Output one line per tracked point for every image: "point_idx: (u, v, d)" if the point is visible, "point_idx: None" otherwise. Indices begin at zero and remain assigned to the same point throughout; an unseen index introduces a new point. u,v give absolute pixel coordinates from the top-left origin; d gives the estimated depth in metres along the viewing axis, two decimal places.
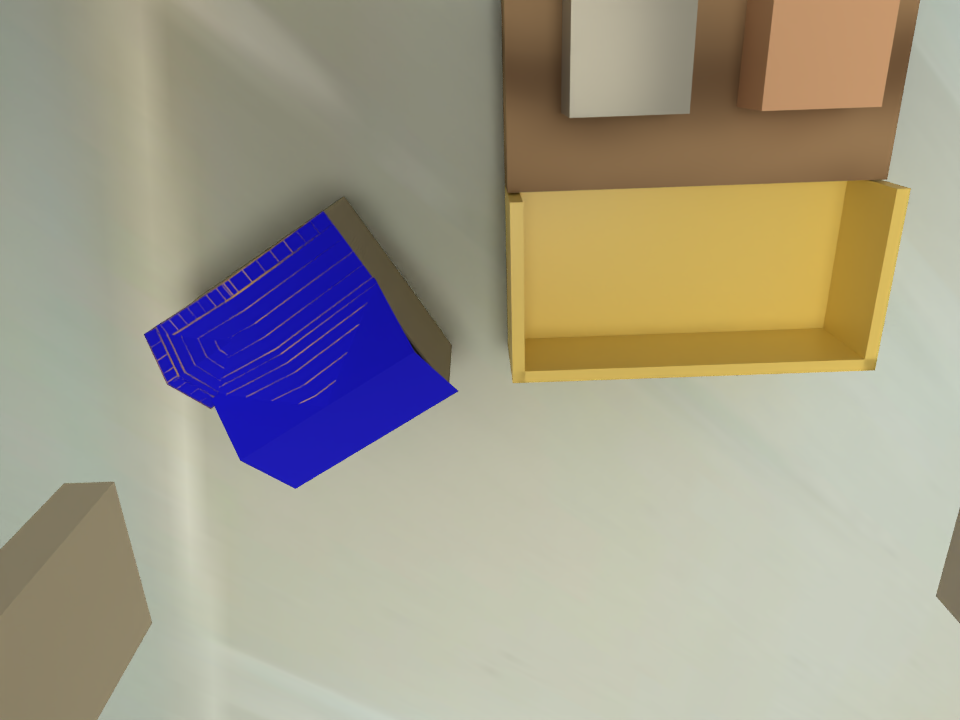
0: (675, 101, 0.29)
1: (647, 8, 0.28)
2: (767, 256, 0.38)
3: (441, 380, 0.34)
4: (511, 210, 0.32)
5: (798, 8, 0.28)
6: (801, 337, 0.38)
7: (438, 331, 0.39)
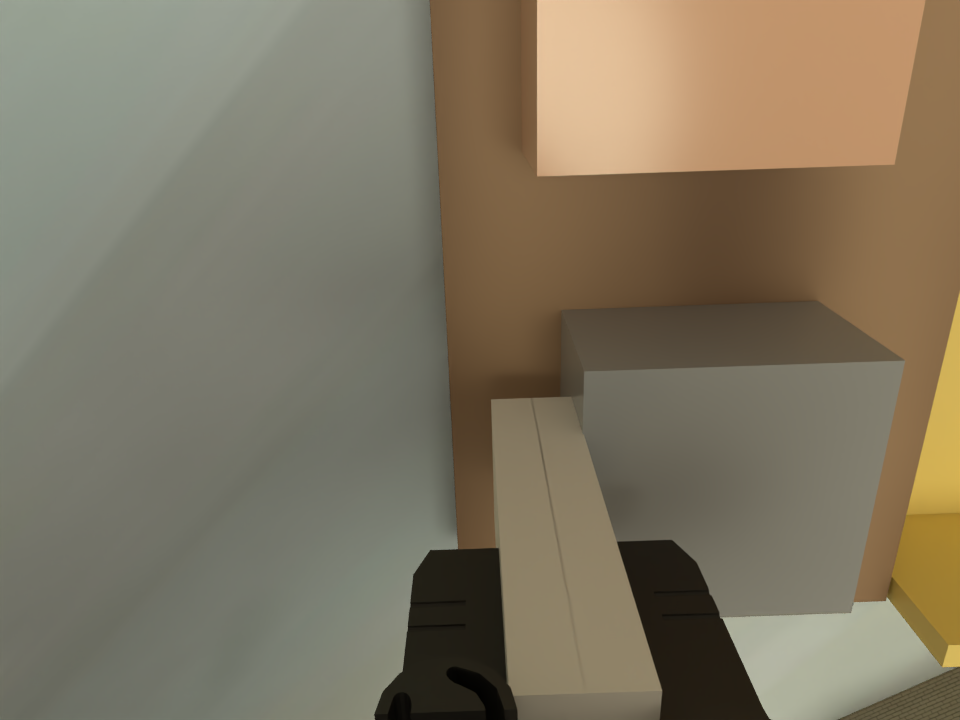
0: (866, 397, 0.11)
1: (640, 479, 0.12)
2: None
3: None
4: (959, 664, 0.15)
5: (626, 97, 0.10)
6: None
7: None
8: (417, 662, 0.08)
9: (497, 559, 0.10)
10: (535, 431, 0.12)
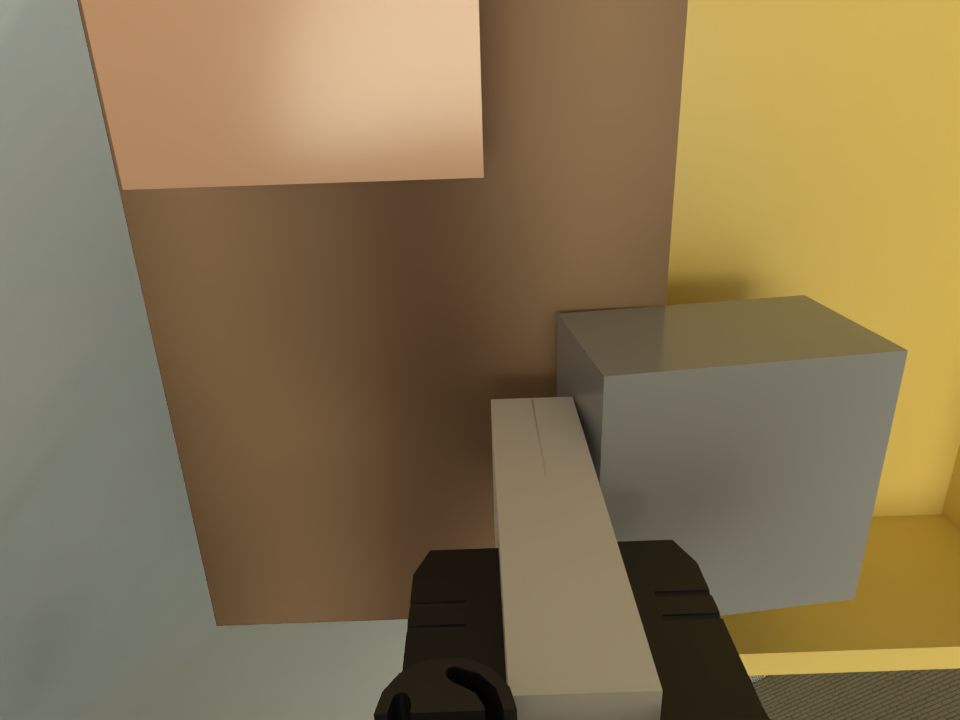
0: (871, 388, 0.12)
1: (658, 482, 0.12)
2: None
3: None
4: None
5: (195, 110, 0.09)
6: None
7: None
8: (417, 662, 0.08)
9: (497, 559, 0.10)
10: (535, 431, 0.12)
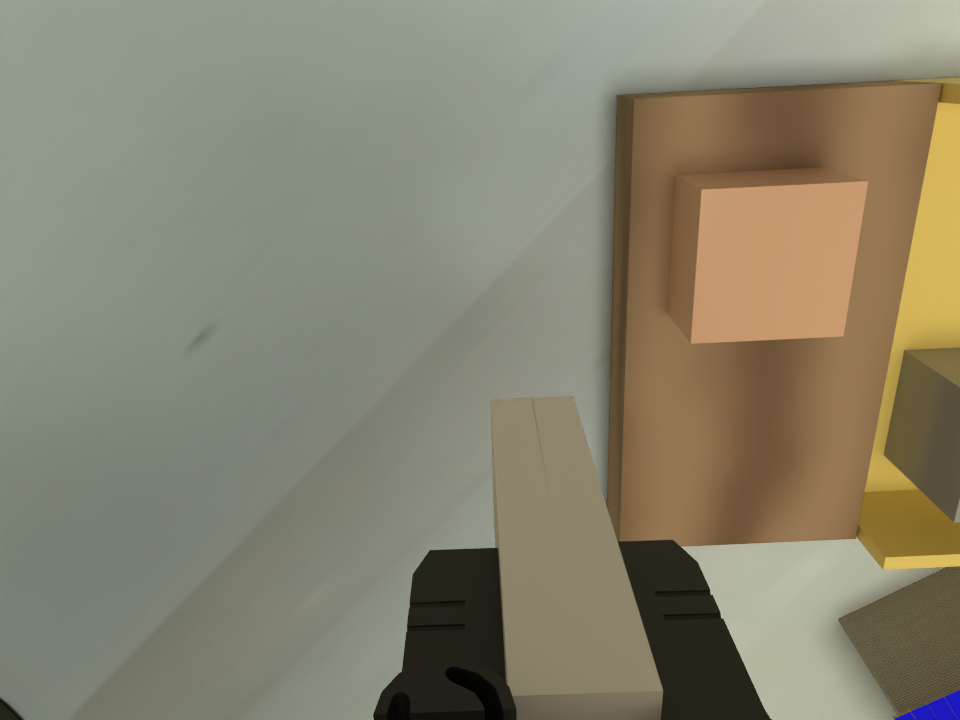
0: None
1: None
2: None
3: None
4: (892, 568, 0.28)
5: (729, 313, 0.23)
6: None
7: None
8: (416, 662, 0.08)
9: (496, 559, 0.10)
10: (536, 431, 0.12)
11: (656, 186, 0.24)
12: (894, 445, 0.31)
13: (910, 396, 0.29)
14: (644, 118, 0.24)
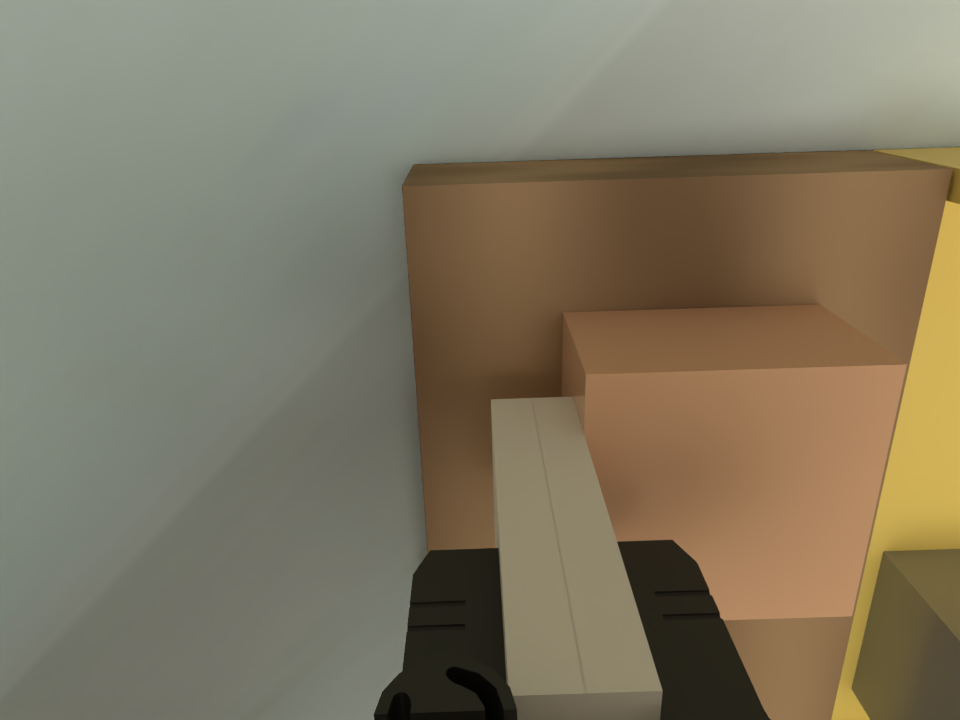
0: None
1: None
2: None
3: None
4: None
5: None
6: None
7: None
8: (417, 662, 0.08)
9: (497, 559, 0.10)
10: (535, 431, 0.12)
11: (456, 333, 0.14)
12: (867, 684, 0.20)
13: (891, 625, 0.19)
14: (424, 219, 0.13)
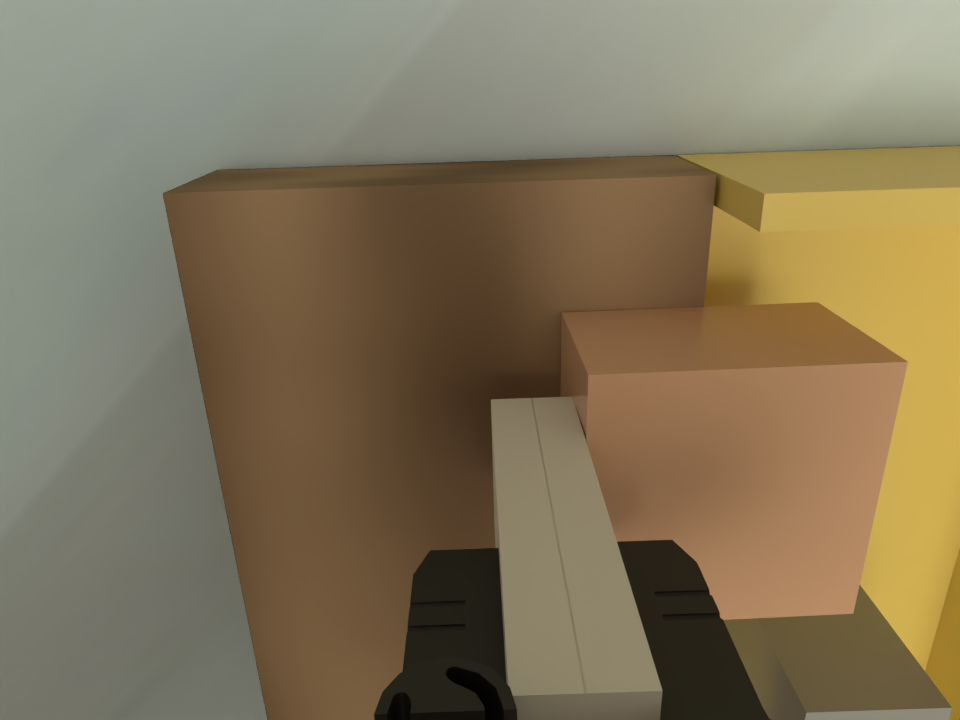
0: None
1: None
2: None
3: None
4: None
5: None
6: None
7: None
8: (416, 662, 0.08)
9: (497, 559, 0.10)
10: (535, 431, 0.12)
11: (235, 339, 0.14)
12: None
13: (731, 631, 0.19)
14: (189, 226, 0.13)
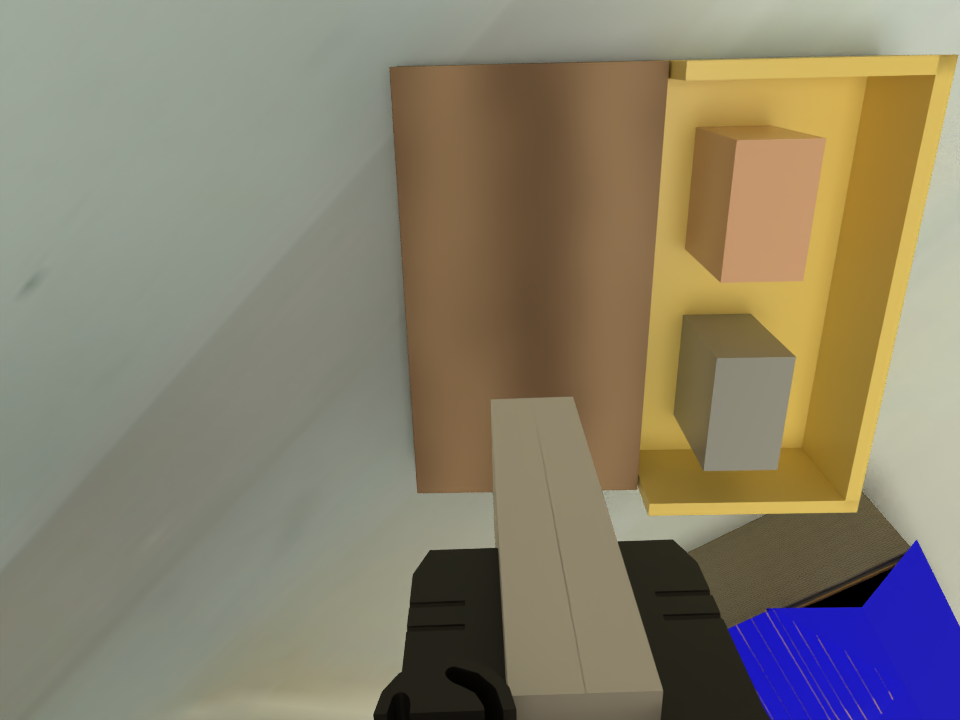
0: None
1: None
2: None
3: (900, 564, 0.30)
4: (656, 514, 0.31)
5: None
6: (875, 121, 0.27)
7: None
8: (416, 662, 0.08)
9: (497, 559, 0.10)
10: (536, 431, 0.12)
11: (417, 149, 0.27)
12: (678, 404, 0.33)
13: (685, 357, 0.31)
14: (400, 85, 0.26)
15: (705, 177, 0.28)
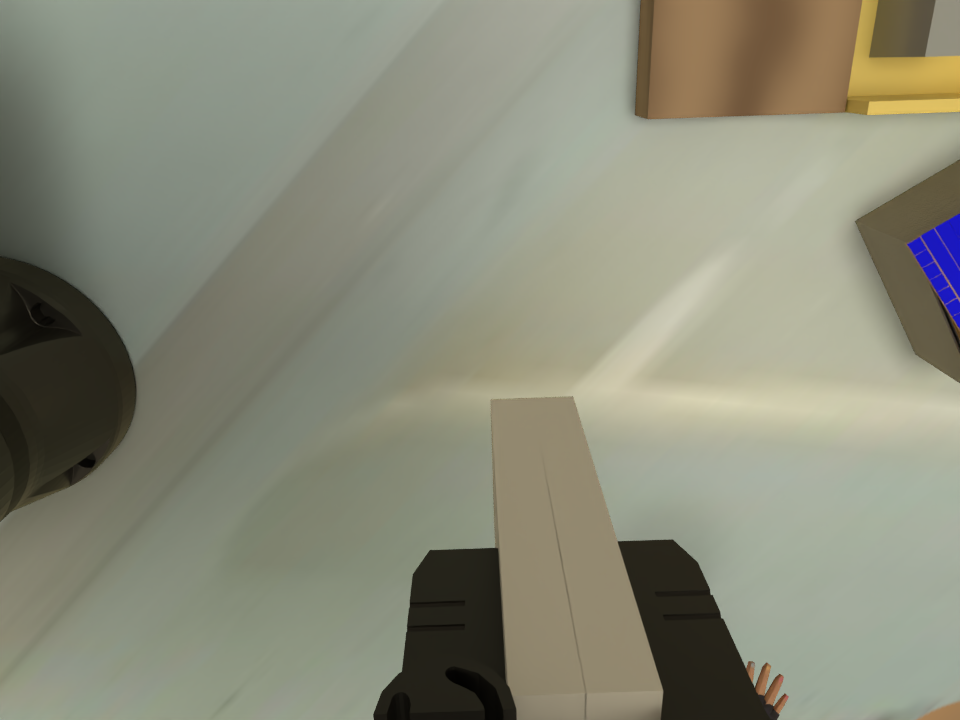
0: None
1: None
2: None
3: None
4: (874, 113, 0.34)
5: None
6: None
7: None
8: (416, 662, 0.08)
9: (497, 559, 0.10)
10: (536, 431, 0.12)
11: None
12: (878, 40, 0.37)
13: None
14: None
15: None
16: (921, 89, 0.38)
